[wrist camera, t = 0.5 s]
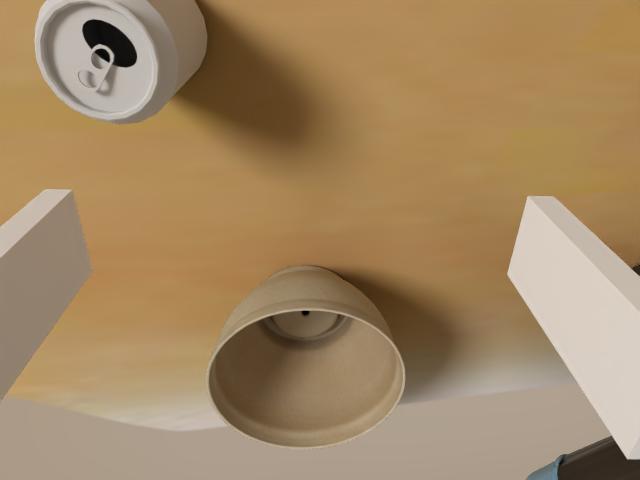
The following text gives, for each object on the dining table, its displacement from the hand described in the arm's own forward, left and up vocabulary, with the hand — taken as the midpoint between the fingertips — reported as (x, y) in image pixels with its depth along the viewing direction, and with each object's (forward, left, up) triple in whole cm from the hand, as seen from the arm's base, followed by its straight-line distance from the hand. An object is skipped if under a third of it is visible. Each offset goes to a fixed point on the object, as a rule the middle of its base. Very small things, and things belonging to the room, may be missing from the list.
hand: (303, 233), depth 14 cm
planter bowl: (-16, +16, -26) cm, 34 cm away
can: (+9, +5, -26) cm, 28 cm away
